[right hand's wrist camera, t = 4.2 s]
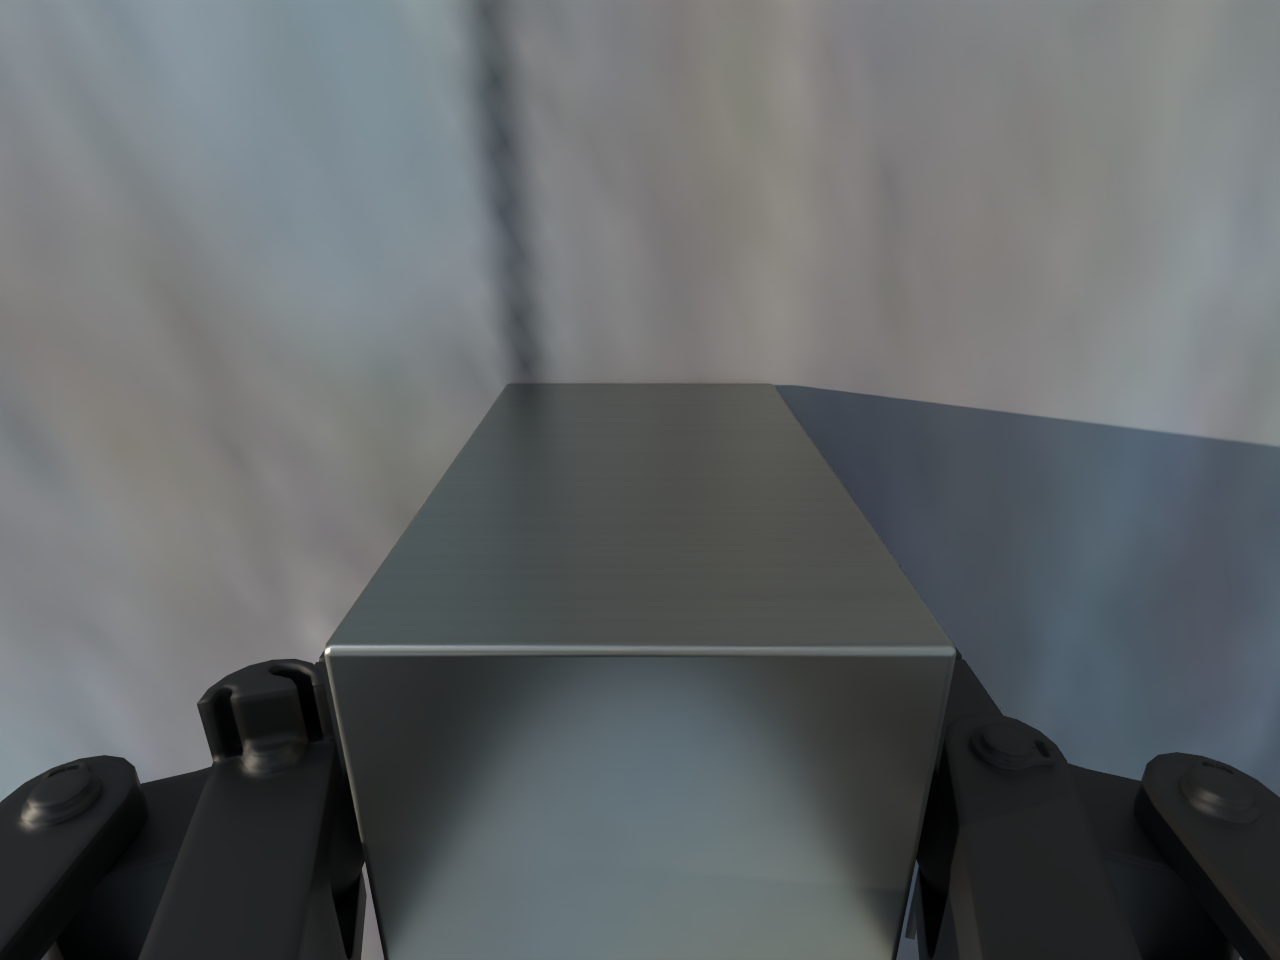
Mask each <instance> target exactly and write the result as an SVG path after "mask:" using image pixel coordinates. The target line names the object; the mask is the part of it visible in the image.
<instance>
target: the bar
mask: <svg viewBox="0 0 1280 960" xmlns="http://www.w3.org/2000/svg"><path fill="white" fill-rule="evenodd" d="M324 651H325V660H326V666H327V671H328V676H329V681H330V686H331V691H332V696H333V701H334V706H335V711H336V716H337V721H338V726H339V731H340V736H341V742H342V747H343V752H344V757H345V762H346V767H347V772H348V777H349V782H350V787H351V792H352V797H353V802H354V807H355V813H356V818H357V823H358V828H359V833H360V838H361V843H362V848H363V853H364V858H365V863H366V868H367V873H368V878H369V883H370V889H371V894H372V899H373V904H374V909H375V914H376V919H377V924H378V929H379V934H380V939H381V944H382V949H383V954H384V960H896V957H897V952H898V947H899V942H900V937H901V932H902V927H903V922H904V916H905V911H906V906H907V901H908V896H909V891H910V886H911V881H912V876H913V871H914V866H915V861H916V856H917V851H918V846H919V841H920V836H921V831H922V826H923V821H924V815H925V810H926V805H927V800H928V795H929V790H930V785H931V780H932V775H933V770H934V765H935V760H936V755H937V750H938V745H939V740H940V735H941V730H942V725H943V719H944V714H945V709H946V704H947V699H948V694H949V689H950V684H951V679H952V674H953V669H954V664H955V659H956V648H955V645H954V643H953V641H952V640H951V638H950V637H949V635H948V634H947V633H946V631H945V630H944V628H943V627H942V625H941V624H940V623H939V621H938V620H937V618H936V617H935V615H934V614H933V613H932V611H931V610H930V608H929V607H928V605H927V604H926V602H925V601H924V600H923V598H922V597H921V595H920V594H919V592H918V591H917V590H916V588H915V587H914V585H913V584H912V582H911V581H910V580H909V578H908V577H907V575H906V574H905V572H904V571H903V570H902V568H901V567H900V565H899V564H898V562H897V561H896V560H895V558H894V557H893V555H892V554H891V552H890V551H889V550H888V548H887V547H886V545H885V544H884V542H883V541H882V540H881V538H880V537H879V535H878V534H877V532H876V531H875V529H874V528H873V527H872V525H871V524H870V522H869V521H868V519H867V518H866V517H865V515H864V514H863V512H862V511H861V509H860V508H859V507H858V505H857V504H856V502H855V501H854V499H853V498H852V497H851V495H850V494H849V492H848V491H847V489H846V488H845V487H844V485H843V484H842V482H841V481H840V479H839V478H838V477H837V475H836V474H835V472H834V471H833V469H832V468H831V466H830V465H829V464H828V462H827V461H826V459H825V458H824V456H823V455H822V454H821V452H820V451H819V449H818V448H817V446H816V445H815V444H814V442H813V441H812V439H811V438H810V436H809V435H808V434H807V432H806V431H805V429H804V428H803V426H802V425H801V424H800V422H799V421H798V419H797V418H796V416H795V415H794V414H793V412H792V411H791V409H790V408H789V406H788V405H787V404H786V402H785V401H784V399H783V398H782V396H781V395H780V393H779V392H778V391H777V389H776V388H775V386H774V385H772V384H508V385H506V387H505V388H504V390H503V391H502V392H501V394H500V395H499V397H498V398H497V400H496V401H495V403H494V404H493V405H492V407H491V408H490V410H489V411H488V413H487V414H486V415H485V417H484V418H483V420H482V421H481V423H480V424H479V425H478V427H477V428H476V430H475V431H474V433H473V434H472V436H471V437H470V438H469V440H468V441H467V443H466V444H465V446H464V447H463V448H462V450H461V451H460V453H459V454H458V456H457V457H456V458H455V460H454V461H453V463H452V464H451V466H450V467H449V468H448V470H447V471H446V473H445V474H444V476H443V477H442V479H441V480H440V481H439V483H438V484H437V486H436V487H435V489H434V490H433V491H432V493H431V494H430V496H429V497H428V499H427V500H426V501H425V503H424V504H423V506H422V507H421V509H420V510H419V512H418V513H417V514H416V516H415V517H414V519H413V520H412V522H411V523H410V524H409V526H408V527H407V529H406V530H405V532H404V533H403V534H402V536H401V537H400V539H399V540H398V542H397V543H396V545H395V546H394V547H393V549H392V550H391V552H390V553H389V555H388V556H387V557H386V559H385V560H384V562H383V563H382V565H381V566H380V567H379V569H378V570H377V572H376V573H375V575H374V576H373V578H372V579H371V580H370V582H369V583H368V585H367V586H366V588H365V589H364V590H363V592H362V593H361V595H360V596H359V598H358V599H357V600H356V602H355V603H354V605H353V606H352V608H351V609H350V610H349V612H348V613H347V615H346V616H345V618H344V619H343V621H342V622H341V623H340V625H339V626H338V628H337V629H336V631H335V632H334V633H333V635H332V636H331V638H330V639H329V641H328V642H327V644H326V647H325V650H324Z"/></svg>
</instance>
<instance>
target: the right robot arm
mask: <svg viewBox="0 0 1280 960" xmlns="http://www.w3.org/2000/svg"><path fill="white" fill-rule="evenodd" d="M955 648H956V647H955ZM961 657H962V655H961V654H960V653H959V651H958V650H957V648H956V659H955V664H954V669H953V674H952V679H951V684H950V689H949V694H948V699H947V704H946V709H945V714H944V719H943V725H942V730H941V735H940V740H939V745H938V750H937V755H936V760H935V765H934V770H933V775H932V780H931V785H930V790H929V795H928V800H927V805H926V810H925V815H924V821H923V826H922V831H921V836H920V841H919V846H918V851H917V856H916V860H917V862H918V865H919V868H918V873H917V878H916V883H915V887H914V892H913V897H912V902H911V907H910V912H909V917H908V923H907V929H906V935H905V938H910V939H915V934H916V929H917V939H918V950H919V960H1239V957H1240V956H1241V957H1242V959H1243V960H1280V798H1279V797H1278V796H1277V795H1276V794H1274V793H1273V792H1272V791H1271V790H1269V789H1268V788H1267V787H1265V786H1264V785H1263V784H1262V783H1260V782H1259V781H1258V780H1256V779H1254V778H1252V777H1251V776H1249V775H1247V774H1245V773H1243V772H1241V771H1239V770H1237V769H1236V768H1234V767H1232V766H1230V765H1227V764H1224V763H1222V762H1219V761H1215V760H1213V759H1210V758H1207V757H1204V756H1199V755H1192V754H1185V753H1178V752H1176V753H1169V754H1162V755H1157V756H1156V757H1155V758H1154V759H1152V760H1151V761H1150V762H1149V763H1147V765H1146V768H1145V771H1144V774H1143V777H1142V780H1141V781H1138V780H1133V779H1129V778H1125V777H1120V776H1116V775H1111V774H1107V773H1102V772H1098V771H1093V770H1089V769H1085V768H1082V767H1078V766H1075V765H1072V764H1068V763H1067V760H1066V759H1065V757H1064V756H1063V754H1062V753H1061V751H1060V750H1059V748H1058V747H1057V745H1056V744H1055V743H1053V742H1052V741H1051V740H1050V739H1048V738H1047V737H1046V736H1045V735H1044V734H1042V733H1041V732H1040V731H1039V730H1037V729H1035V728H1033V727H1031V726H1029V725H1027V724H1025V723H1023V722H1021V721H1019V720H1017V719H1013V718H1009V717H1006V716H1003V714H1002V713H1001V712H1000V710H999V709H998V707H997V706H996V704H995V703H994V701H993V700H992V699H991V697H990V696H989V694H988V693H987V691H986V690H985V689H984V687H983V686H982V684H981V683H980V681H979V680H978V678H977V677H976V676H975V674H974V673H973V671H972V670H971V668H970V667H969V666H968V664H967V663H966V661H965V660H962V658H961ZM197 706H198V709H199V713H200V716H201V720H202V723H203V727H204V730H205V734H206V737H207V741H208V744H209V748H210V751H211V755H212V758H213V764H212V767H209V768H205V769H202V770H198V771H195V772H191V773H186V774H182V775H178V776H173V777H169V778H164V779H160V780H156V781H151V782H147V783H142V784H140V781H139V778H138V775H137V772H136V770H135V767H134V766H133V765H132V764H131V763H129V762H128V761H127V760H126V759H124V758H121V757H113V756H106V755H103V756H96V757H89V758H82V759H78V760H75V761H72V762H68V763H66V764H62V765H60V766H57V767H54V768H52V769H50V770H48V771H46V772H44V773H42V774H40V775H39V776H37V777H35V778H33V779H31V780H29V781H27V782H25V783H24V784H23V785H21V786H20V787H19V788H18V789H16V790H15V791H14V792H13V793H11V794H10V795H9V796H8V797H6V798H5V799H4V800H2V801H1V802H0V960H41V959H42V960H361V952H362V941H363V929H364V918H365V907H366V889H365V883H364V878H363V873H362V867H363V864H364V862H365V858H364V853H363V848H362V843H361V838H360V833H359V828H358V823H357V818H356V813H355V807H354V802H353V797H352V792H351V787H350V782H349V777H348V772H347V767H346V762H345V757H344V752H343V747H342V742H341V736H340V731H339V726H338V721H337V716H336V711H335V706H334V701H333V696H332V691H331V686H330V681H329V676H328V671H327V666H326V660H325V651H324V652H323V653H322V655H321V656H320V658H319V662H316V664H315V665H314V664H313V663H310V662H306V661H302V660H297V659H280V660H270V661H266V662H262V663H258V664H254V665H250V666H247V667H245V668H243V669H241V670H238V671H236V672H234V673H232V674H230V675H227V676H226V677H224V678H223V679H222V680H220V681H219V682H217V683H216V684H215V685H213V686H212V687H210V688H209V689H208V690H207V691H206V693H205V694H204V695H203V697H202V698H201V699H200V701H199V702H198V703H197Z"/></svg>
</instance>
